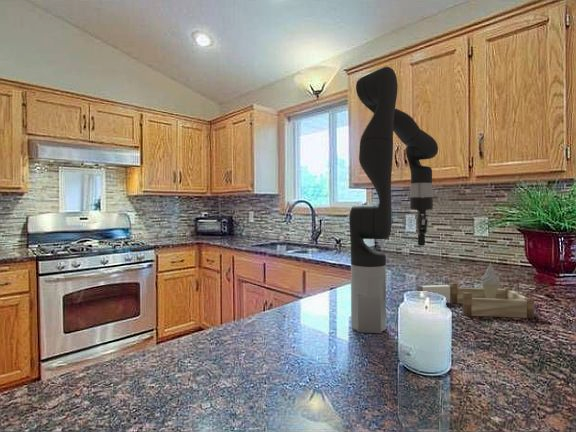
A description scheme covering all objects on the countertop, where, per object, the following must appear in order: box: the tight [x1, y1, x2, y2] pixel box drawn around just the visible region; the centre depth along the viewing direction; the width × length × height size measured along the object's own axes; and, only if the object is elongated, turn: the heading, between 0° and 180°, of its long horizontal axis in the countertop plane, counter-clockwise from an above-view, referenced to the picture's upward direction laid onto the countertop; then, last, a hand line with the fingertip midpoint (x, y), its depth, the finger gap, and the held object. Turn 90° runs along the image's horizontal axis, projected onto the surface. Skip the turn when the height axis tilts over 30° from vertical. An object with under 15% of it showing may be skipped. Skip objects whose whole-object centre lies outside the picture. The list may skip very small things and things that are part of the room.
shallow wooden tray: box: [449, 282, 535, 319], centre depth 113 cm, size 16×19×6 cm
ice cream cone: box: [481, 262, 500, 299], centre depth 113 cm, size 5×5×15 cm
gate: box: [416, 284, 450, 302], centre depth 120 cm, size 11×2×5 cm, turn 96°
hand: (421, 245), depth 126 cm, fingers closed
